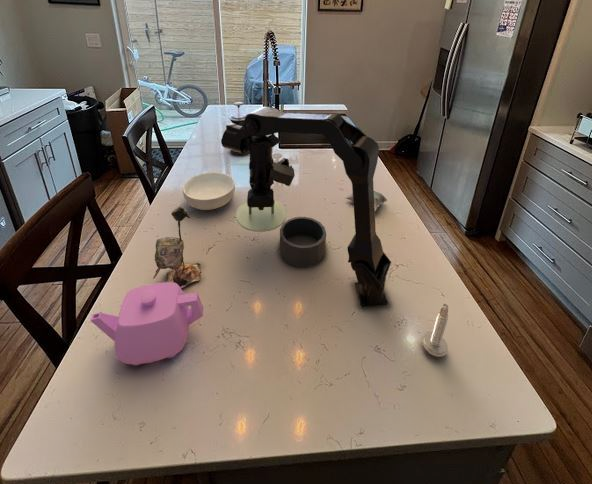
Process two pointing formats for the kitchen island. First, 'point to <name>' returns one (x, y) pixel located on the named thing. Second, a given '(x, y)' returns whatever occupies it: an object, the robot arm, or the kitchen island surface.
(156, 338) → the teapot
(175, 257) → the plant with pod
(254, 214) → the lid
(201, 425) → the kitchen island surface
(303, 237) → the container
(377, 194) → the packaged food
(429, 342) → the screw
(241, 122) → the french press
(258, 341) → the kitchen island surface
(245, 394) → the kitchen island surface
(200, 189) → the cereal bowl
